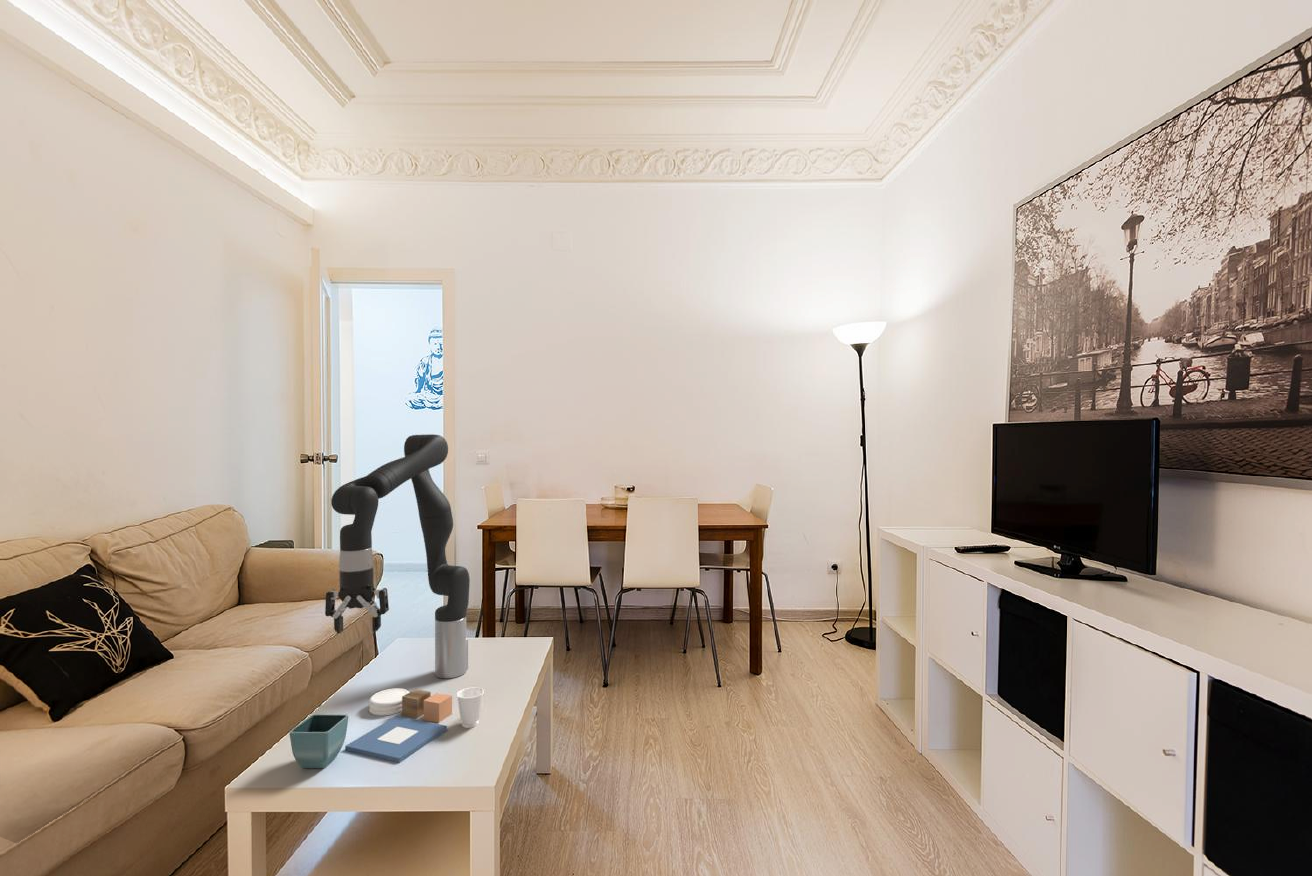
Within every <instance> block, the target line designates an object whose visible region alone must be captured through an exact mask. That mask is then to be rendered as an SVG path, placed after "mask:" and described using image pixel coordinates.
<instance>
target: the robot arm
mask: <svg viewBox="0 0 1312 876" xmlns="http://www.w3.org/2000/svg"><path fill="white" fill-rule="evenodd" d="M403 453H404V454H403V455H404V457H400V458H398V459H395V460H391V461H389V462H387V463H385V464H383V465H381V466H379V467H377V468H376V469H375V470H373V471H371V472H370V473H368V474H367V475H365V476H363V477H359V478H356V479H354V480H351V481H349V482H347V483H345V484H343V485H340V486H339V487H337V489H336V490H335V491H334V492H333V494H332V495H331V496H332V497H331V499H330V500H331V501H330V502H331V505H330V506H331V507H332V509H333V511H335V512H336V513H338V514H340V515H347V516H348V515H351V516H353V515H354V519H353V522H352V523H350V524H346V525H344V526H342V527H341V528H340V530H339V559H338V569H339V572H338V573H339V575H338V576H339V590H336V589H331V590H329V591H327V592H326V593H325V609H324V610H325V611H324V613H325V616H326V617H331V618H333V629H334V631H335V632H336V634H341V633H342V632H343V631H344V616H343V613H344V612H345V611H346V609H363V608H364V609H365V610H366V611H367V612H368V613H370V615H371V616H373V617H372V619H371V620H372V621H371V622H372V623H371V624H372V625H371V626H372V633H377V632H378V631H379V629H381V627H382V615H385V614H386V613H387V612H389V610H390V607H389V598H388V597H389V596H388V589H387V587H383V588H382V589H381V588H380V589H375V587H374V583H375V582H374V581H375V580H374V554H373V553H374V552H373V547H372V545H373V543H372V542H373V539H372V530H373V527H374V524H375V518H376V515H377V512H378V508H379V500H380V499H382V498H385V497H386V496H388V495H389V494H390V493H391V492H393V491H394V490H396V489H397V488H399V487H400V486H401V485H403V484H404V483H406V482H407V481H409V480H411V482H412V486H413V491H414V495H415V499H416V504H417V511H418V517H419V523H420V526H421V530H422V536H423V541H424V542H423V543H424V548H425V554H426V555H425V557H426V566H427V579H428V584H429V588H430V590H431V592H432V593H433V594H434V595H438V596H446V597H447V604H445V605H442V606H439V607H437V608H436V609H435V612H434V676H435V677H436V678H440V679H452V678H458V677H460V676H463V675H464V674H465V673H467V670H468V669H469V639H468V638H467V611H468V608H469V603H470V600H469V599H470V581H471V580H470V574H469V571H468V569H467V568H466V567H464V566H461V565H460V566H459V565H449V564H448V561H447V557H446V556H447V555H446V547H447V544H448V542H449V539H450V536H451V534H452V532H453V530H454V529H453V528H454V519H453V512H452V507H451V504H450V502H449V500H448V498H447V497H446V496H445V494H444V493H443V492H442V490H441V489H440V488H439V487H438V485H437V484H436V483H435V481H434V480H433V478H432V475H431V473H430V469H431V468H434V467H437V466H439V465H440V464H442V463H444V462H445V460H446V459H447V457H448V455H449V445H448V442H447V439H445V438H444V437H443V436H442V435H439V434H412V435H409V436H408V437H407V438H406V439H405V441H404V446H403ZM374 596H376V598H377V599H378V601H379V602H378V603H379V606H378V605H377V602H376V601H375V600H374V599H373V598H374ZM337 598H339V599H340V600H341V601H342V602H341V603H340V605H339V606H338V607H337V609H336V600H337Z"/></svg>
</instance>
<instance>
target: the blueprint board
mask: <svg viewBox="0 0 1312 876" xmlns="http://www.w3.org/2000/svg"><path fill="white" fill-rule="evenodd" d="M447 730H448V725H444V724H439V723H436V722H431V721H426V720H425V721H424V720H419V719H416V718H411V717H406V716H404V717H403V716H399V715H396V716H394V717H392V718H390V719H388V720H387V721H385V722H383V723H382V724H379V726H376V727H375V728H373V729H372V730H370V731H368V732H366V733H365V734H363V735H362V736H360V737H359V736H358V738H356V739H354V740H352V741H351V742H349V743H347V744H346V745H345V747H344V748H345V751H346V752H347V751H348V752H352V753H355V754H361V755H365V756H369V757H373V758H377V759H382V760H386V761H391V762H394V763H399V764H400V763H401V762H403V761H405V760H406V759H407V758H409V757H410V756H412V755H413V754H415V753H416V752H417V751H419V750H421V749H422V748H424V746H426V745H427V744H429V743H430V742H432V741H433V740H435V739H436V738H437V737H439V736H440V735H442V734H443V733H445V732H446V731H447Z"/></svg>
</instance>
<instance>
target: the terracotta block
mask: <svg viewBox="0 0 1312 876" xmlns="http://www.w3.org/2000/svg"><path fill="white" fill-rule="evenodd" d="M452 715H453V695H450V694H445V693H439V692H436V693H434V694H431V697H429V698H427V699H425V700H424V714H423V721H424V720H425V721H427V722H432V723H437V724H439V723H441V722H442V721H444V720H445V719H447V718H449V717H450V716H452Z"/></svg>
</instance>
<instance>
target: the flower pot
mask: <svg viewBox="0 0 1312 876" xmlns="http://www.w3.org/2000/svg"><path fill="white" fill-rule="evenodd" d="M349 717H350V716H349V714H333V713H332V714H320V713H319V714H311V715H310V716H308V717H307V718H305V719H304V720H303V721H302V722H301V723H299V724H298V725H296V726H295V727H293V728H292V729H290V731H288V733H289V740H290V747H291V753H292V755H293V757H294V760H295V761H296V762H297V764H298V765H300V767H301V768H303V769H324V768H326V767H328V765H329V764H330V763H332V762H333V761H334V760H335V759H336V758H337V757H338V755H339V753H340V751H341V750H342V749H343V748H342V747H343V746H344V743H345V740H346V737H347V731H348V723H349Z"/></svg>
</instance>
